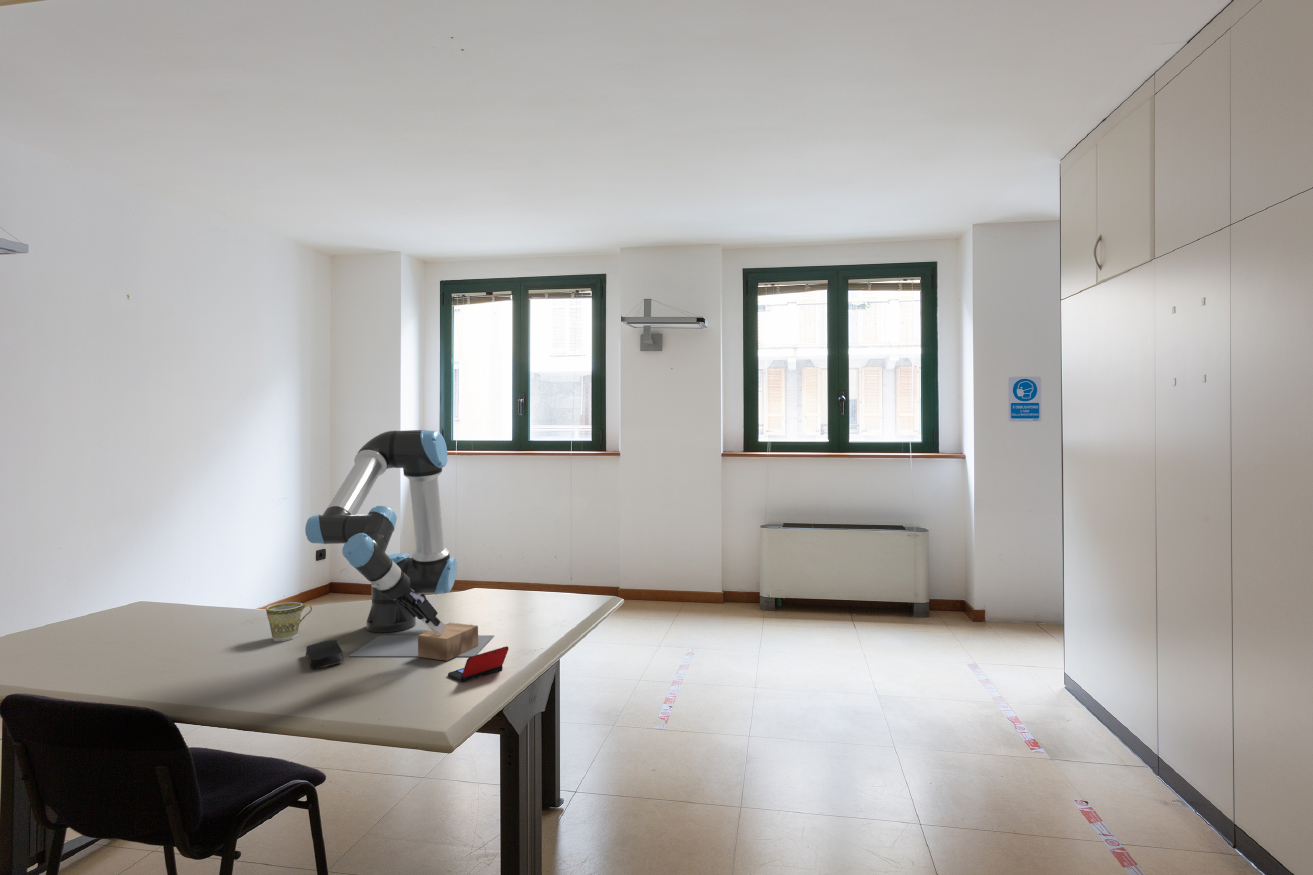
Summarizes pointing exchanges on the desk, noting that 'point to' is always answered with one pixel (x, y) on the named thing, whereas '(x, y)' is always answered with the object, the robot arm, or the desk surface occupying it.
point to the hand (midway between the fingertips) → (440, 629)
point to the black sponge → (324, 654)
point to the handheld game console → (481, 665)
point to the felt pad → (406, 646)
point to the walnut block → (448, 641)
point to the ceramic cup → (285, 620)
